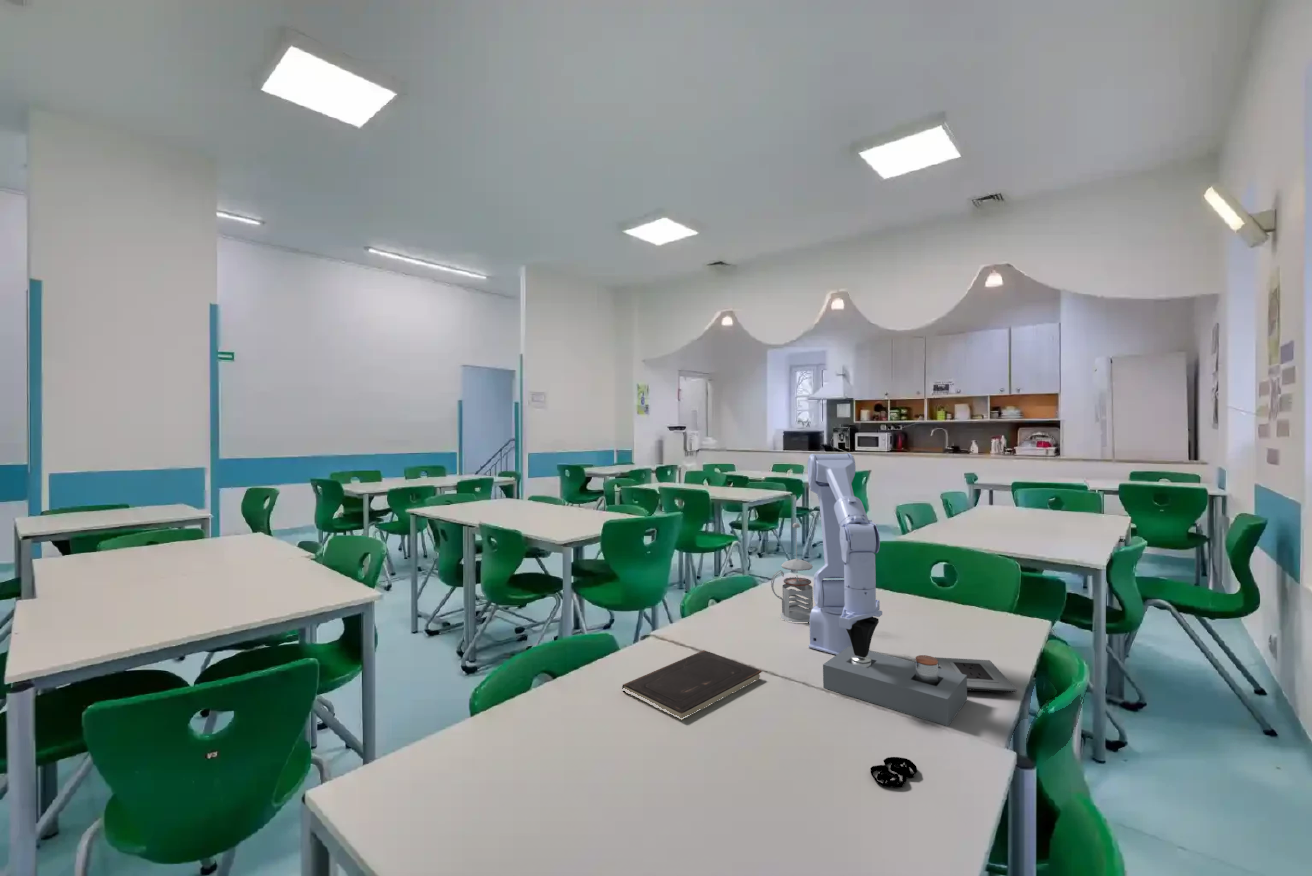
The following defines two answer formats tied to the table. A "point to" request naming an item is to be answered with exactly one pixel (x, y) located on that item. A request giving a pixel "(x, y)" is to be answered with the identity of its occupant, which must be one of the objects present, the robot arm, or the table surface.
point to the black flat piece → (901, 771)
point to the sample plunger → (861, 661)
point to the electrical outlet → (978, 674)
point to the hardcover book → (693, 682)
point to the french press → (793, 609)
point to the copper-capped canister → (927, 670)
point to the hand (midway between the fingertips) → (861, 655)
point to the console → (897, 686)
